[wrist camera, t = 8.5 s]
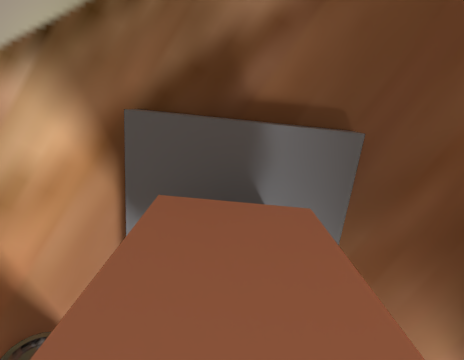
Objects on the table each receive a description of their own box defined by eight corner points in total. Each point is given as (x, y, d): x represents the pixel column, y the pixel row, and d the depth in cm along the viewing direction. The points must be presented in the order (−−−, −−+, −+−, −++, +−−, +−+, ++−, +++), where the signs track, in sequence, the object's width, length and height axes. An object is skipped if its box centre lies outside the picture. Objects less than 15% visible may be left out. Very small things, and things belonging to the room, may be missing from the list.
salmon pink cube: (310, 208, 10) (460, 406, 4) (286, 328, 12) (357, 614, 5) (158, 194, 10) (16, 376, 3) (155, 318, 12) (58, 602, 5)
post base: (352, 130, 14) (442, 150, 8) (312, 308, 18) (355, 418, 12) (135, 108, 14) (57, 112, 8) (136, 293, 17) (82, 397, 11)
